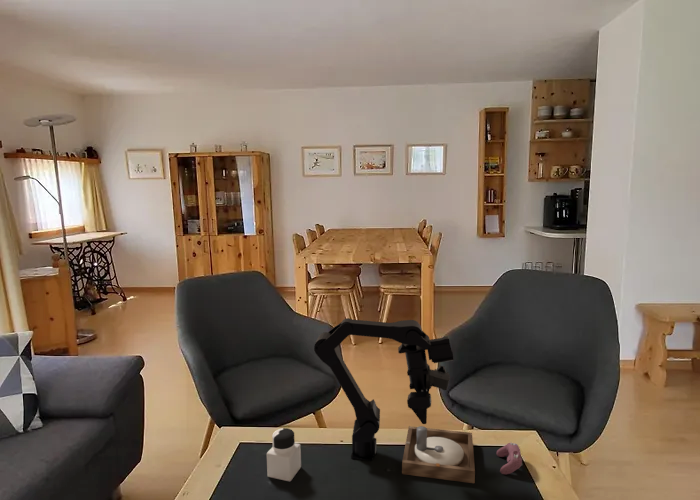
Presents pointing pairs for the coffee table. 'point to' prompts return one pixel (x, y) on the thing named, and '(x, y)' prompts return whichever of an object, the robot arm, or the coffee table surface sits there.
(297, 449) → the medicine bottle
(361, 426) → the robot arm
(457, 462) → the dial
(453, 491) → the coffee table surface
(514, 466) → the video game controller
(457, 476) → the dial frame
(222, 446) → the coffee table surface
